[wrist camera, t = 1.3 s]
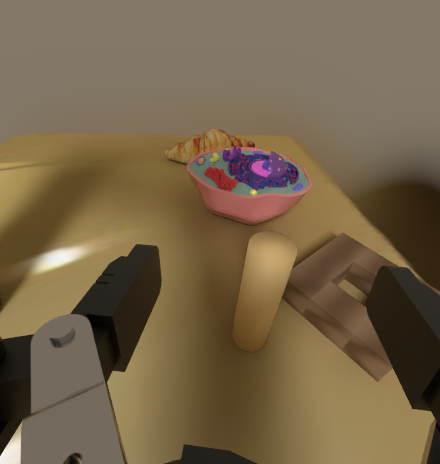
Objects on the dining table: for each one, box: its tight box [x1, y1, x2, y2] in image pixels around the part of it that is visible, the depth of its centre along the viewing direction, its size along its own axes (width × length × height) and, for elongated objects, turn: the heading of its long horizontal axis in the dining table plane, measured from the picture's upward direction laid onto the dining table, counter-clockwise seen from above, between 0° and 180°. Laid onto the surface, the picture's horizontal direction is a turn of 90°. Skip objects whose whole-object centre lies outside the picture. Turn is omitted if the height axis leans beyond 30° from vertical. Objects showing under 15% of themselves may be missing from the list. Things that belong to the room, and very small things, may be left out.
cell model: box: [186, 145, 312, 225], centre depth 46 cm, size 17×20×11 cm
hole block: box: [282, 233, 440, 382], centre depth 35 cm, size 14×14×4 cm
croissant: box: [165, 129, 255, 164], centre depth 63 cm, size 21×10×8 cm, turn 109°
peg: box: [232, 231, 297, 352], centre depth 27 cm, size 4×4×14 cm
